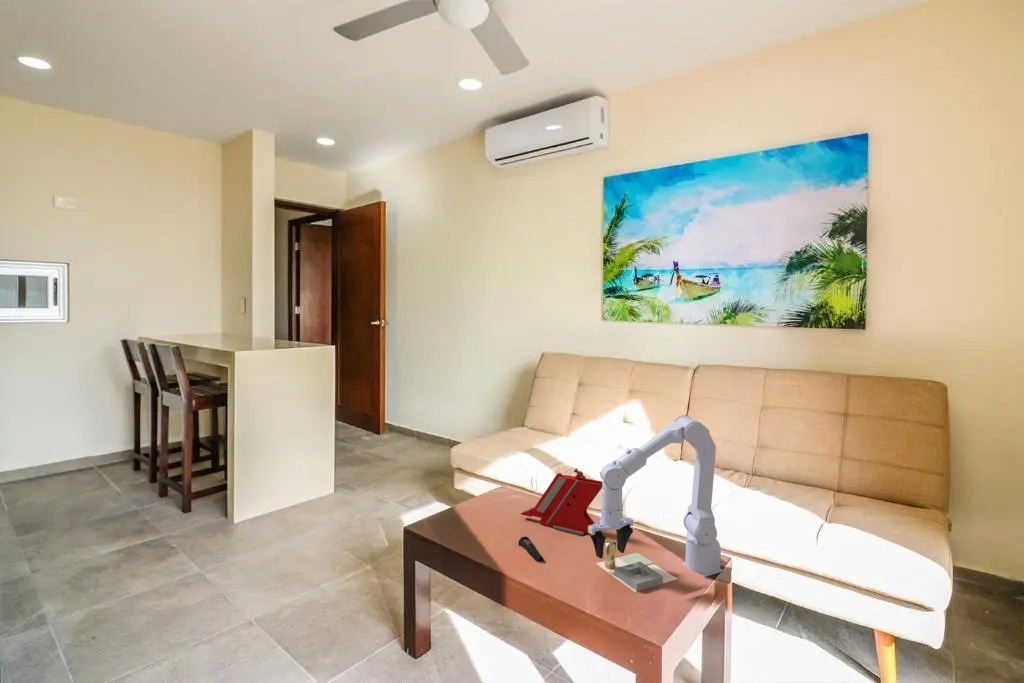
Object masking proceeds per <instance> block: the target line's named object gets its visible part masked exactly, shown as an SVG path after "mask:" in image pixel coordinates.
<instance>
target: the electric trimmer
mask: <svg viewBox="0 0 1024 683" xmlns="http://www.w3.org/2000/svg"><path fill="white" fill-rule="evenodd" d="M518 545H519V546H522V547H523V549H524V550H526V552H527V554H529V556H530V557H531V558H532V559H533V560H534V561H535V562H538V563H539V562H540V561H542V562H543V561H545V560H544V558H543V555H542V554H541V553H540V552H539V550H538V549H537V547H536V546H535V545H534V543H533V542H532V540H531V539H530V538H529V537H528V536H522V537H520V538H519V539H518Z"/></svg>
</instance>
